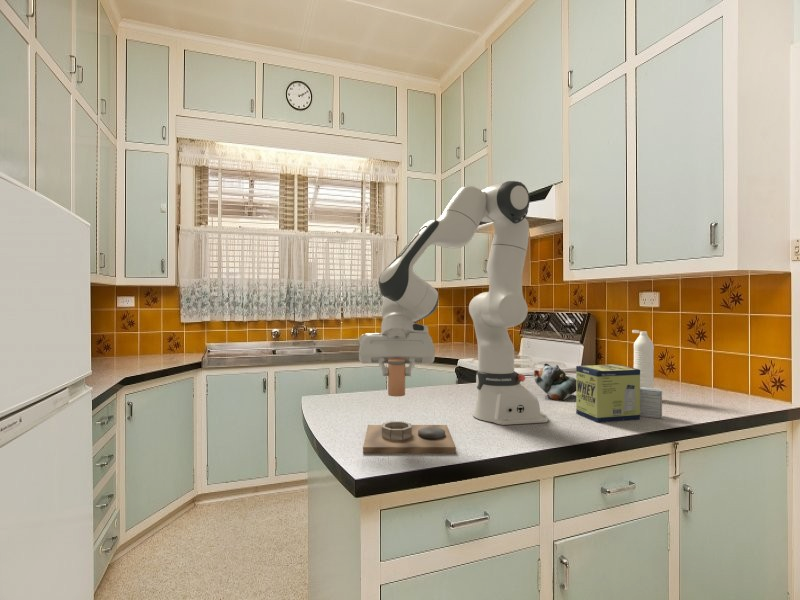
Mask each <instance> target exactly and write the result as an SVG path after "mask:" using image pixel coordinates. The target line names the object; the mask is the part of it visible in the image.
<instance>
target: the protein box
mask: <svg viewBox="0 0 800 600" xmlns="http://www.w3.org/2000/svg"><path fill="white" fill-rule="evenodd" d="M575 367H576V368H575V373H576V375H575V376H576V377H575V379H576V392H575V393H576V394H575V395H576V396H575V399H576V401H575V402H576V403H575V405H576V406H575V407H576V408H575V414H577V415H579V416H581V417H583V418H586V419H589V420H591V421H593V422H594V423H596V424H597V423H609V422H611V423H612V422H613V423H614V422H624V421H626V422H628V421H637V420H638V421H639V420H641V416H640V370H639V369H635V368H634V367H631V366H626V365H621V364H615V363H614V364H597V365H596V364H595V365H576V366H575Z"/></svg>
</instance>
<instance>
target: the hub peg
mask: <svg viewBox="0 0 800 600" xmlns="http://www.w3.org/2000/svg"><path fill="white" fill-rule="evenodd" d="M387 367H388V376H387V395H388V396H389V397H395V398H397V397H404V396H406V376H405V367H406V364H405V359H388V364H387Z"/></svg>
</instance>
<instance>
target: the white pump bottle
mask: <svg viewBox="0 0 800 600" xmlns="http://www.w3.org/2000/svg"><path fill="white" fill-rule="evenodd" d="M631 332H632V334H639V335H638V337H637V338H636V340H635V341H634V342H633V368H635V369H639V370H640V387H649V388H654V384H655V383H654V371H655V370H654V369H655V368H654V367H655V365H654V364H655V363H654V361H655V360H654V352H655V351H654V350H655V349H654V347H655V345H654V343H653V341H652V339H651V338H650V337H649V335H648V331H645V330H644V331H643V330H639V329H638V330H637V329H632V330H631Z"/></svg>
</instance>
